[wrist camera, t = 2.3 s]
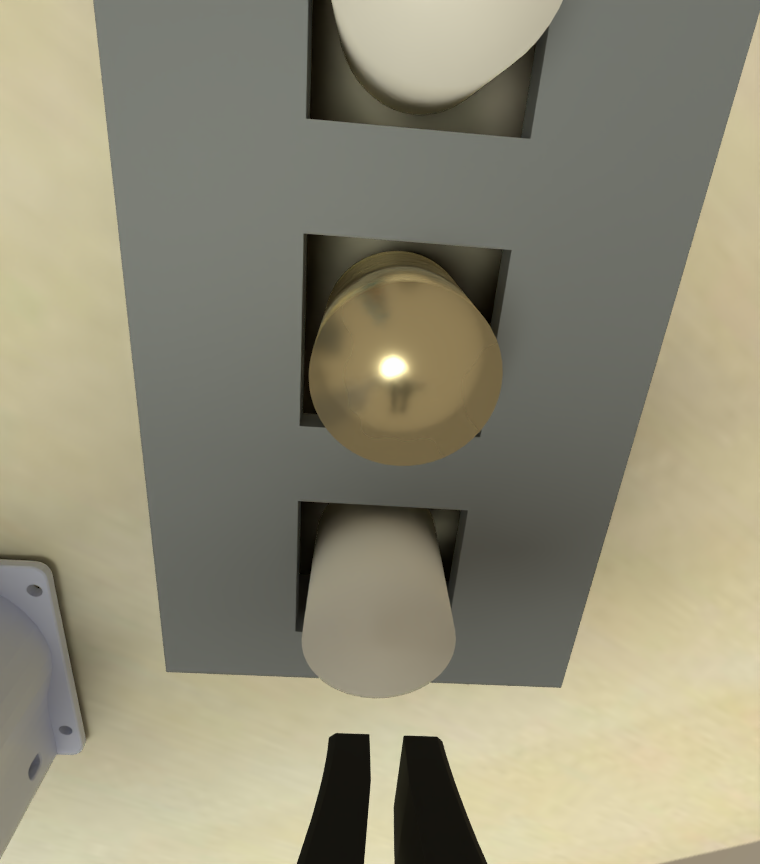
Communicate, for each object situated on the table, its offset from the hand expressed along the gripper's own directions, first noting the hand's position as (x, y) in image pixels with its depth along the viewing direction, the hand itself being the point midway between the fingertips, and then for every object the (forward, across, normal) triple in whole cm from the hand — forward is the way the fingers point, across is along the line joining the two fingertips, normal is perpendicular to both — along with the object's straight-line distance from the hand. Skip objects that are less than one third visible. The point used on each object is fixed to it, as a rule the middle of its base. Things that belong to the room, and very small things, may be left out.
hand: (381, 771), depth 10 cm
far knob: (+7, 0, 0) cm, 7 cm away
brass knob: (+7, 0, -6) cm, 10 cm away
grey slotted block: (+9, 0, -6) cm, 11 cm away
